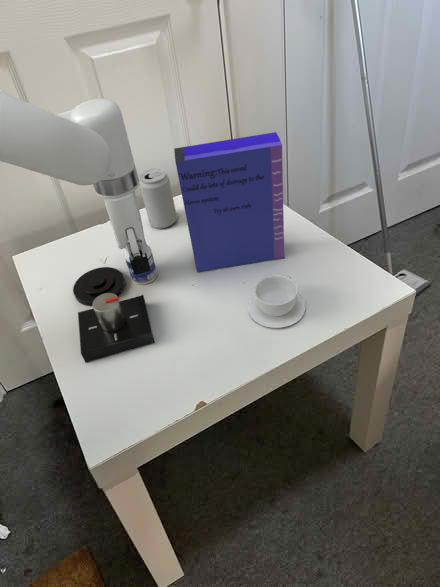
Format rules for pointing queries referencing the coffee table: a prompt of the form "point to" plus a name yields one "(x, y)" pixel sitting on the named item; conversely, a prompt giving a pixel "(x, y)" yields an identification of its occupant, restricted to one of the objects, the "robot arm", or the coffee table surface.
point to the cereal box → (233, 200)
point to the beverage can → (158, 198)
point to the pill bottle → (147, 276)
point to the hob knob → (109, 312)
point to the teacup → (276, 302)
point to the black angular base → (110, 343)
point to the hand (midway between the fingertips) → (140, 261)
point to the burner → (98, 284)
